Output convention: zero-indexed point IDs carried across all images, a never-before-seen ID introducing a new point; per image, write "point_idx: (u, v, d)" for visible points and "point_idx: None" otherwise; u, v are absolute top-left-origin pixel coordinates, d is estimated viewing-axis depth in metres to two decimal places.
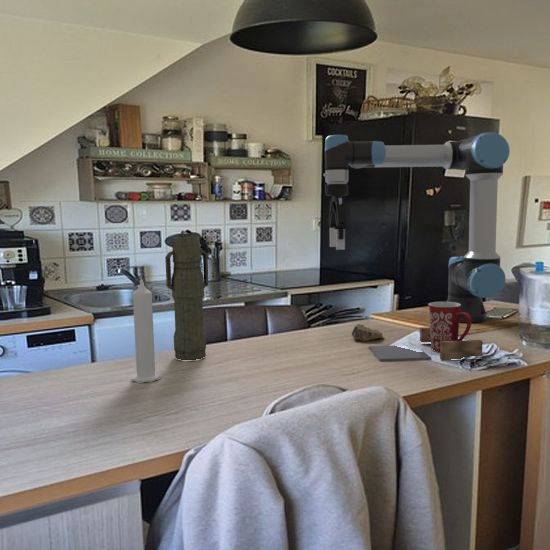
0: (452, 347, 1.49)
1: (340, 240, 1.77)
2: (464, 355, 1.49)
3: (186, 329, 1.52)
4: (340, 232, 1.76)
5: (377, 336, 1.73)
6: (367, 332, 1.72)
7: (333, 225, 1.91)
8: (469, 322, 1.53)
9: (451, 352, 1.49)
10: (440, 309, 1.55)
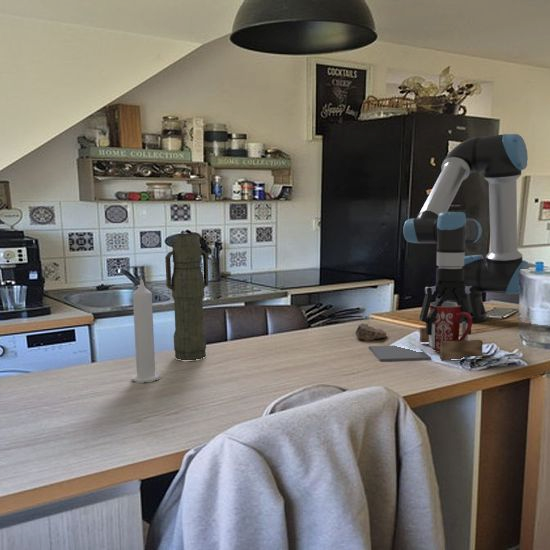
0: (452, 347, 1.49)
1: (430, 335, 1.58)
2: (464, 355, 1.49)
3: (186, 329, 1.52)
4: (426, 326, 1.58)
5: (380, 335, 1.73)
6: (370, 331, 1.72)
7: (466, 320, 1.58)
8: (470, 322, 1.53)
9: (451, 352, 1.49)
10: (441, 309, 1.55)
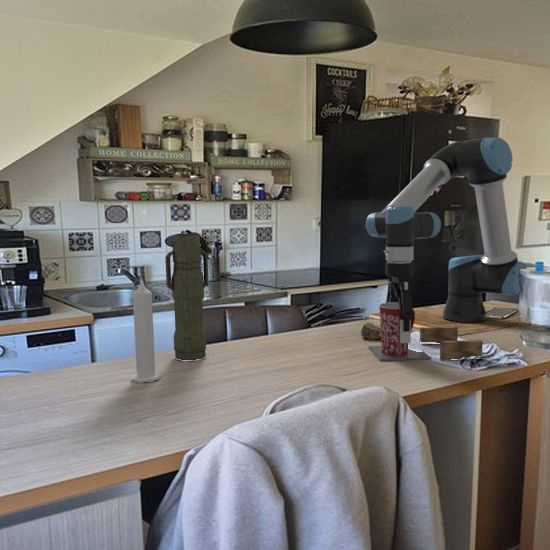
0: (452, 347, 1.49)
1: (405, 332, 1.49)
2: (464, 355, 1.49)
3: (186, 329, 1.52)
4: (406, 323, 1.48)
5: None
6: (375, 331, 1.74)
7: None
8: None
9: (451, 352, 1.49)
10: None
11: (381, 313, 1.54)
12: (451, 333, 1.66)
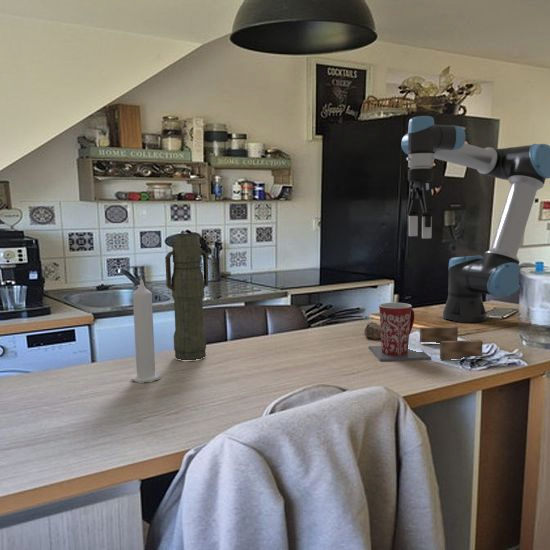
0: (452, 347, 1.49)
1: (426, 228, 1.66)
2: (464, 355, 1.49)
3: (186, 329, 1.52)
4: (427, 219, 1.65)
5: None
6: (378, 330, 1.74)
7: (412, 213, 1.80)
8: None
9: (451, 352, 1.49)
10: (410, 309, 1.52)
11: (381, 313, 1.54)
12: (451, 333, 1.66)
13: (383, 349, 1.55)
